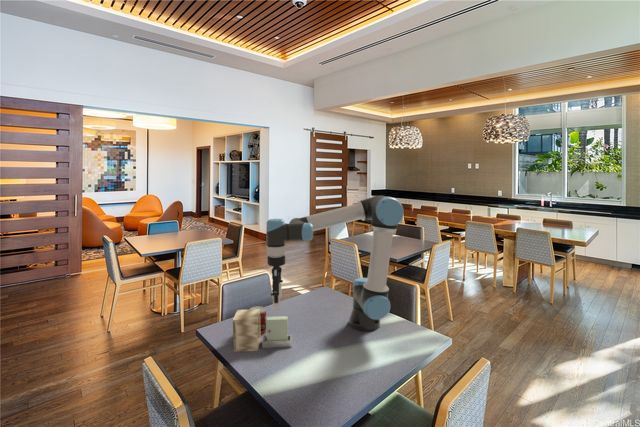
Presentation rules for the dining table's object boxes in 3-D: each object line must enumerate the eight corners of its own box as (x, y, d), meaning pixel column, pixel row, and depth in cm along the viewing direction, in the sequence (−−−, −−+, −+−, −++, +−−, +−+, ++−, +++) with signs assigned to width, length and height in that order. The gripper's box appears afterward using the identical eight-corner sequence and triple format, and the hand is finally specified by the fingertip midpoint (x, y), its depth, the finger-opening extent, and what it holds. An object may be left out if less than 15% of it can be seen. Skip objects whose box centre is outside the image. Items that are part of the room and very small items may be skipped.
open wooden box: (260, 338, 148) (259, 309, 146) (257, 350, 138) (257, 319, 136) (238, 339, 147) (237, 309, 145) (233, 351, 137) (232, 319, 135)
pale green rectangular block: (287, 342, 145) (287, 316, 144) (287, 346, 141) (287, 320, 140) (267, 342, 144) (267, 316, 143) (266, 347, 141) (266, 320, 139)
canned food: (263, 336, 150) (262, 313, 149) (246, 334, 152) (246, 312, 150) (268, 328, 157) (268, 306, 156) (253, 327, 159) (252, 305, 158)
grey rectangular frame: (292, 340, 146) (292, 334, 146) (291, 346, 141) (291, 341, 141) (263, 341, 146) (263, 335, 145) (262, 347, 140) (262, 342, 140)
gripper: (270, 248, 150) (271, 293, 153) (264, 263, 126) (265, 316, 128) (286, 248, 151) (287, 292, 154) (283, 263, 126) (285, 315, 129)
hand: (277, 303), depth 141 cm, fingers open, 13 cm apart
